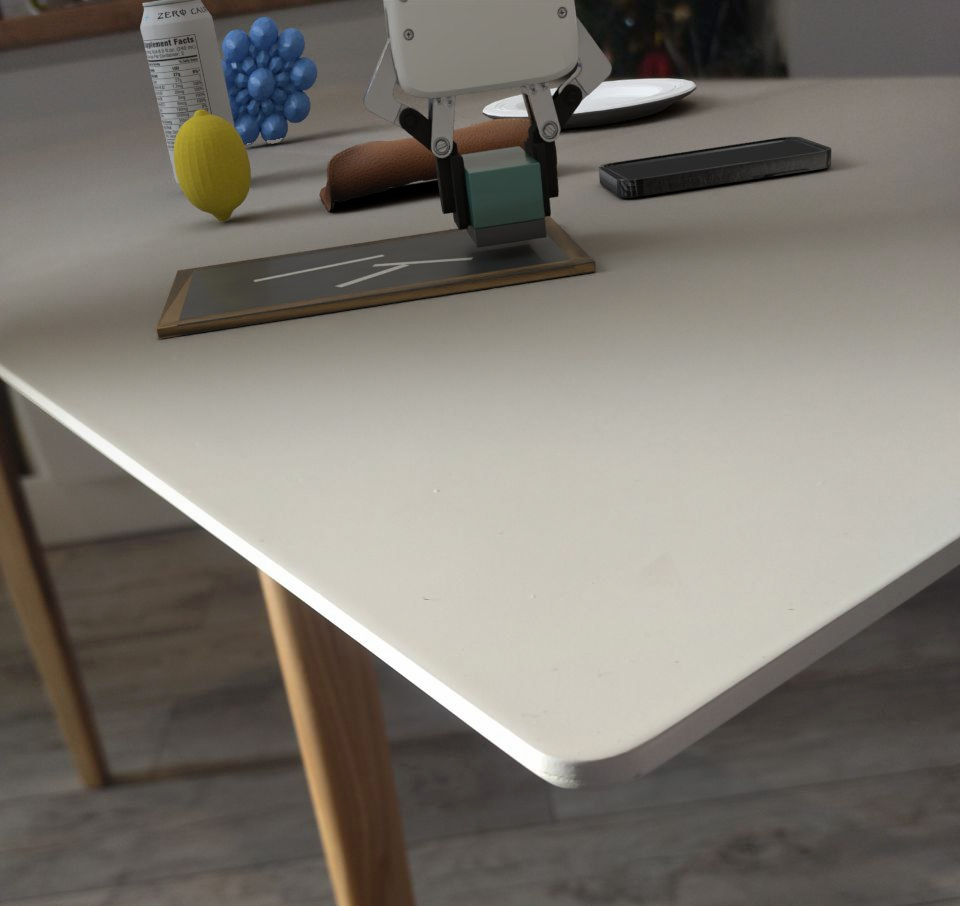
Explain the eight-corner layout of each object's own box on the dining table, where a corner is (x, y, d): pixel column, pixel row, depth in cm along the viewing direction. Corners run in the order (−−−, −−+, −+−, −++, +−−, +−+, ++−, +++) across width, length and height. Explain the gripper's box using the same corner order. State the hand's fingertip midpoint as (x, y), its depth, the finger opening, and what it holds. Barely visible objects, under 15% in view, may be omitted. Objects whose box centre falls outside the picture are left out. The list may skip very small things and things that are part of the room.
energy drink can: (259, 180, 109) (222, -8, 102) (217, 194, 105) (175, -1, 97) (207, 181, 112) (167, -2, 105) (164, 196, 108) (119, 6, 100)
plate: (440, 136, 120) (438, 115, 119) (569, 99, 133) (568, 80, 132) (613, 136, 107) (612, 113, 106) (738, 95, 120) (737, 74, 119)
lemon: (262, 221, 92) (239, 107, 88) (188, 234, 91) (162, 118, 87) (258, 209, 96) (236, 100, 92) (188, 221, 96) (162, 111, 92)
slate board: (158, 339, 65) (155, 328, 65) (179, 279, 78) (177, 270, 77) (596, 272, 67) (595, 260, 67) (549, 224, 79) (548, 214, 79)
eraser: (546, 237, 69) (540, 162, 67) (477, 248, 69) (468, 173, 67) (526, 214, 75) (519, 145, 73) (462, 224, 75) (453, 155, 73)
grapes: (329, 131, 133) (308, 9, 128) (328, 139, 128) (306, 11, 122) (223, 146, 133) (198, 24, 127) (217, 155, 127) (190, 27, 121)
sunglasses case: (525, 154, 101) (531, 81, 95) (553, 210, 97) (561, 138, 92) (312, 191, 97) (305, 118, 92) (333, 251, 94) (327, 179, 88)
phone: (595, 165, 89) (795, 134, 89) (596, 181, 89) (795, 151, 90) (620, 182, 82) (837, 149, 83) (621, 199, 82) (836, 166, 83)
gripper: (605, -165, 66) (626, 187, 75) (299, -124, 65) (357, 228, 74) (639, -179, 60) (657, 209, 69) (300, -133, 59) (363, 254, 68)
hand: (501, 215), depth 71 cm, fingers closed on eraser, 4 cm apart
